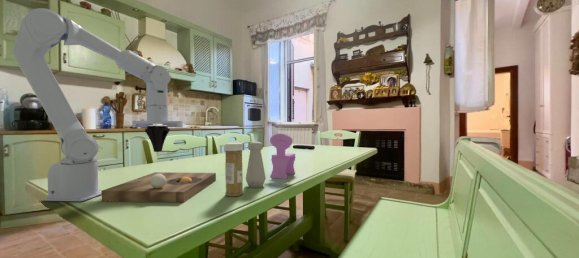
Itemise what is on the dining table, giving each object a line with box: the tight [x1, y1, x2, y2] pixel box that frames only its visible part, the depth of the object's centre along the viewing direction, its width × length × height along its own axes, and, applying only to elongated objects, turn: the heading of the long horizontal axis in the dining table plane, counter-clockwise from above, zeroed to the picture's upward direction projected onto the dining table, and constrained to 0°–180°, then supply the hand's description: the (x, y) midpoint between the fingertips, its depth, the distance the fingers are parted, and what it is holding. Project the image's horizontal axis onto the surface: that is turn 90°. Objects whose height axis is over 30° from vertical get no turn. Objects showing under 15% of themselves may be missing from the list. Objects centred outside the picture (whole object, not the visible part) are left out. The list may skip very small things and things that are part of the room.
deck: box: [101, 171, 217, 203], centre depth 71 cm, size 20×22×2 cm
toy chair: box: [269, 132, 296, 180], centre depth 89 cm, size 8×9×15 cm
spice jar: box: [224, 141, 244, 197], centre depth 66 cm, size 5×5×14 cm
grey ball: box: [150, 174, 166, 188], centre depth 62 cm, size 4×4×4 cm
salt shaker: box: [245, 141, 267, 188], centre depth 74 cm, size 6×6×13 cm
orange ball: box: [179, 177, 192, 183], centre depth 71 cm, size 4×4×4 cm
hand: (158, 151), depth 77 cm, fingers closed
